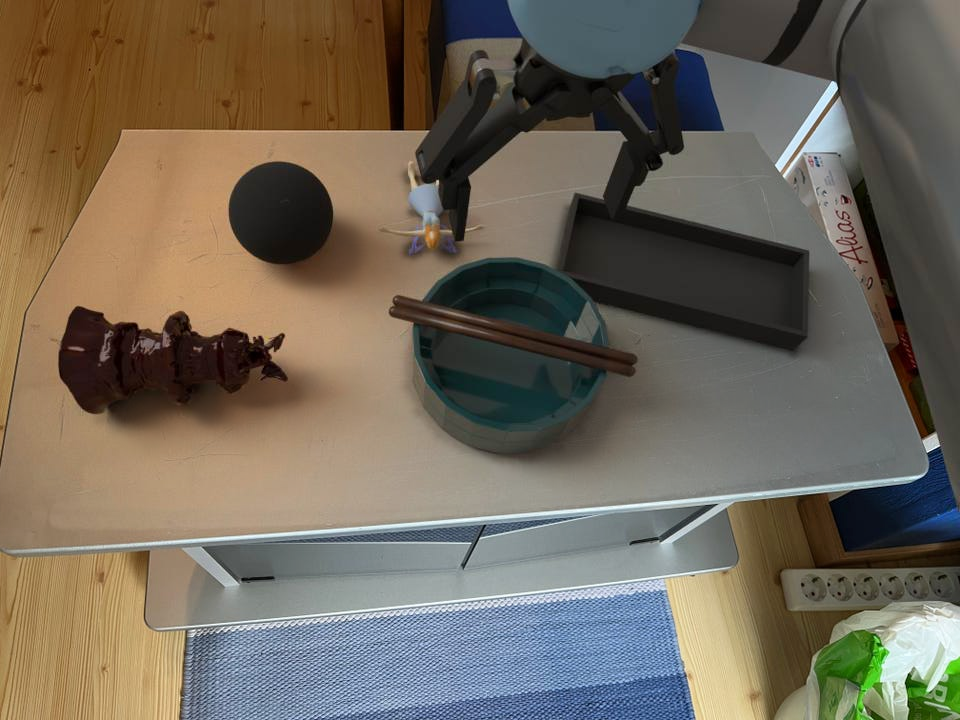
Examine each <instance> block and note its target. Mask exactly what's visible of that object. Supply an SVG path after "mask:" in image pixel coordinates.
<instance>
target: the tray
mask: <svg viewBox="0 0 960 720" xmlns="http://www.w3.org/2000/svg"><path fill="white" fill-rule="evenodd" d="M555 270H556V271H558V272H560V273H562V274H564V275H566V276H567V277H569V278H571V279H572V280H573V281H574V282H575V283H576V284H577V285H579V286H580V287H581V288H582V289H583V290H584V291H585V292H586V293H587V294H588V295H589V296H590V297H591V298H592V300H593V301H594V302H597V303H601V304H604V305H608V306H613V307H616V308H620V309H624V310H629V311H632V312H637V313H640V314H645V315H648V316H652V317H656V318H660V319H664V320H668V321H672V322H676V323H680V324H685V325H687V326H693V327H696V328H700V329H704V330H708V331H711V332H716V333H720V334H724V335H728V336H732V337H736V338H740V339H743V340H749V341H753V342H756V343H760V344H763V345H768V346H772V347H776V348H779V349H784V350H788V351H792V352H794V351H795V350H796V349H797V348H799V346H800V345H802V343H803V342H804V341H805V340H806V339H807V338H808V337H809V297H810V296H809V295H810V294H809V293H810V292H809V291H810V250H808V249H805V248H801V247H796V246H793V245H788V244H786V243H781V242H776V241H773V240H770V239H769V240H768V239H766V238H762V237H761V238H760V237H756V236H752V235H748V234H744V233H740V232H736V231H733V230H728V229H724V228H720V227H716V226H712V225H708V224H704V223H701V222H696V221H691V220H688V219H684V218H680V217H675V216H673V215H672V216H671V215H668V214H664V213H660V212H656V211H651V210H648V209H643V208H641V207H635V206H632V205H628V204H627V207H626V209H625V211H624V214H623V216H622V218H621V220H618V221H612V219H611V216H610V214H609V211H608V209H607V206H606V204H605V201H604V198H599V197H596V196H591V195H587V194H583V193H578V192H574V193H573V197H572V199H571V204H570V206H569V209H568V212H567V217H566V222H565V226H564V231H563V236H562V240H561V244H560V249H559V253H558V258H557V262H556V267H555Z"/></svg>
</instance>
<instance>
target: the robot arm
mask: <svg viewBox="0 0 960 720" xmlns="http://www.w3.org/2000/svg"><path fill="white" fill-rule="evenodd" d="M506 1H507V5H508V8H509V12H510V15H511V17H512V19H513V21H514V23H515V25H516V27H517V29H518V31H519V32H520V35H521V36H522V37H521V45H520V48H519V49H518V51H517V53H516V54H515V55H514V56H513V58H512V59H511V60H510V59H509V60H507V59H506V60H505V59H504V60H502V59H501V60H500V59H496V60H495V59H490V57H489V54H488V52H487V51H486V50H485V49H478V50H475V51H473V52H472V53H471V54H470V56H469V59H468V63H467V67H466V72H465V74H464V75H465V76H464V79H463V80H462V82H461V83H460V85H459V86H458V88H457V89H456V90H455V92H454V94H453V95H452V97H451V98H450V100H449V101H448V103H447V104H446V106H445V107H444V108H443V110H442V111H441V113H440V115H439V116H438V118H437V119H436V121H435V122H434V123H433V125H432V126H431V128H430V129H429V131H428V132H427V134H426V135H425V137H424V138H423V139H422V141H421V143H420V144H419V145H418V147H417V149H415V152H414V155H415V159H416V162H417V167H418V170H419V175H420V179H421V182H422V183H424V184H433V183H436V181H437V180H439V188H438V194H439V198H440V201H441V205H442V208H443V210H442V211H447V219H448V222H449V225H450V229H451V230H452V233H453V235H452V236H453V237H452V238H453V240H454V243H458V242H459V243H460V242H465V236H466V233H465V229H467V223H468V222H467V221H468V213H469V207H470V198H471V192H472V184H471V181H470V176H472V174H474V172H476V171H478V169H479V168H481V167H482V166H483V165H484V164H486V162H488V161H489V160H490V159H491V158H492V157H493V156H494V155H496V154H497V153H498V152H499V151H500V150H502V149H503V148H504V147H505V146H506V145H508V144H509V143H510V142H511V141H512V140H513V139H514V138H516V137H517V136H518V135H519V134H521V133H526V134H527V133H530V132H531V131H532V130H534V129H535V128H536V127H537V126H539V124H541V123H542V122H543V121H544V120H545V121H546V122H553V121H560V120H563V119H566V118H576V119H580V118H581V119H582V118H583V119H585V118H590V117H591V114H592V113H595V112H597V111H599V110H601V112H602V113H603V114H604V116H605V117H606V118H607V120H608V121H609V122H610V123H611V124H614V126H615V127H616V128H617V130H619V132H620V133H621V134H622V136H623V137H624V138H625V139H626V140H624V141H623V140H622V144H621V146H620V149H619V151H618V154H617V157H616V159H615V162H614V165H613V167H612V171H611V173H610V175H609V178H608V181H607V183H606V186H605V189H604V192H603V194H602V199H603V200H604V201H605V204H606V206H607V209H608V211H609V214H610V216H611V219H612V221H618V220H621V218H622V216H623V214H624V211H625V209H626V207H627V205H628V204H629V202H630V200H631V197H632V196H633V195H632V194H633V192H634V190H635V188H636V187H641V186H642V185H644V183H645V181H646V179H647V176H648V175H649V172H655V171H658V170H660V169H661V168H662V167H663V166H664V161H663V158H662V157H661V155H663V154H666V153H668V154H669V155H671V156H676V155H678V154H680V153H682V152H683V150H684V149H685V143H684V137H683V131H682V125H681V119H680V114H679V108H678V101H677V94H676V90H675V83H676V81H677V77H678V74H679V71H680V70H679V69H680V64H681V63H680V61H679V58H678V57H677V55H676V53H675V50H676V49H677V48H678V46H680V45H681V44H683V45H686V46H691V47H694V48H699V49H703V50H706V51H710V52H715V53H719V54H722V55H726V56H730V57H733V58H738V59H743V60H747V61H751V62H754V63H760V64H764V65H767V66H772V67H775V68H779V69H784V70H787V71H791V72H794V73H799V74H803V75H806V76H810V77H814V78H818V79H822V80H827V81H830V82H834V83H835V84H836V87H837V91H838V93H839V94H838V95H839V97H840V100H841V103H842V105H843V107H844V111H845V114H846V117H847V121H848V125H849V129H850V133H851V136H852V139H853V142H854V146H855V150H856V153H857V157H858V160H859V164H860V169H861V171H862V174H863V178H864V182H865V186H866V189H867V192H868V195H869V199H870V203H871V207H872V210H873V213H874V217H875V220H876V221H875V222H876V224H877V227H878V231H879V235H880V239H881V241H882V246H883V248H884V253H885V256H886V260H887V263H888V267H889V271H890V274H891V277H892V281H893V285H894V289H895V293H896V294H897V299H898V302H899V306H900V309H901V313H902V317H903V320H904V323H905V327H906V330H907V335H908V338H909V340H910V345H911V349H912V352H913V355H914V359H915V363H916V366H917V369H918V373H919V377H920V380H921V384H922V387H923V391H924V395H925V398H926V402H927V405H928V409H929V411H930V416H931V419H932V423H933V426H934V430H935V433H936V436H937V440H938V441H937V442H938V444H939V448H940V451H941V454H942V458H943V461H944V466H945V469H946V472H947V476H948V479H949V483H950V487H951V490H952V493H953V498H954V500H955V505H956V508H957V511H958V514H959V516H960V0H506ZM639 73H641V74H642V77H643V79H644V80H645V81H647V83H648V88H649V94H650V97H651V103H652V106H653V107H652V108H653V111H654V116H655V121H656V126H657V129H655V130H652V131H650V130H649V129H648V127H647V126H646V125H645V123H644V122H643V120H642V119H641V117H640V116H639V115H638V114H637V112H636V111H635V110H634V108H633V107H632V106H631V104H630V103H629V102H628V100H627V99H626V98H625V96H624V95H623V93H622V91H621V90H623V88H625V87H626V86H627V85H628V84H629V83H630V82H632V81H633V80H634V79H635V77H636V76H637V75H638V74H639ZM503 88H504V89H503ZM501 92H502V94H501ZM501 95H502V96H501ZM524 100H525V101H526V102H527V104H528V105H529V107H528V108H526V105H525V102H524ZM493 101H497V102H496V103H495V104H494V105H492V102H493ZM491 105H492V106H491Z"/></svg>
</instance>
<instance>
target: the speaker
mask: <svg viewBox="0 0 960 720" xmlns="http://www.w3.org/2000/svg"><path fill="white" fill-rule="evenodd" d="M227 211H228V220H229V224H230V228H231V230H232V232H233V235H234V236H235V238H236V240H237V241H238V243H239V244H240V246H241V247H243V249H244V250H246V252H248V253H249V254H250V255H252V256H253V257H254V258H256V259H258V260H260V261H262V262H266V263H268V264H273V265H280V266H285V265H287V266H288V265H294V264H299V263H302V262H304V261H306V260H308V259H310V258H312V257H313V256H314V255H316V254H317V253H318V252H319V251H320V250H321V249H322V248H323V247H324V245H325V244H326V243H327V241H328V240H329V237H330V235H331V232H332V230H333V224H334V207H333V202H332V199H331V195H330V193H329V191H328V190H327V187H326V186H325V185H324V183H323V182H322V181H321V180H320V179H319V178H318V177H317V176H316V174H314V173H313V172H312V171H310V170H308V169H307V168H305V167H304V166H302V165H299V164H297V163H293V162H289V161H282V160H278V161H277V160H276V161H275V160H274V161H269V162H264V163H260V164H257V165H255V166H254V167H251V168H250V169H249V170H248V171H246V172H245V173H244V174H243V175H242V176H241V177H240V178H239V179H238V180H237V182H236V184H234V187H233V189H232V191H231V194H230V196H229V201H228V209H227Z"/></svg>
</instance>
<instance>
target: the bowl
mask: <svg viewBox="0 0 960 720" xmlns="http://www.w3.org/2000/svg"><path fill="white" fill-rule="evenodd" d="M421 301H425V302H429V303H433V304H437V305H441V306H445V307H449V308H453V309H456V310H460V311H464V312H468V313H472V314H476V315H480V316H484V317H488V318H492V319H496V320H500V321H504V322H508V323H512V324H516V325H520V326H524V327H528V328H532V329H536V330H540V331H544V332H548V333H552V334H556V335H560V336H564V337H568V338H572V339H576V340H580V341H584V342H588V343H592V344H596V345H600V346H604V347H608V348H611V344H610V340H609V334H608V328H607V324H606V321H605V319H604V318H603V316H602V314H601V312H600V311H599V308H598V307H597V305H596V303H595V301H593V300H592V298H591V297H590V296H589V295H588V294H587V293H586V292H585V291H584V290H583V289H582V288H581V287H580V286H579V285H577V284H576V283H575V282H574V281H573V280H572V279H571V278H569V277H567V276H566V275H564V274H562V273H560V272H558V271H556V268H553V267H551V266H549V265H547V264H545V263H542V262H541V263H540V262H537V261H533V260H529V259H525V258H521V257H517V256H513V257H485V258H482V259H479V260H474V261H472V262H469V263H465V264H461V265H459V266H457V267H456V268H455V269H453V270H452V271H450V272H449V273H446V275H444V276H442V277H440V278H439V279H438V280H437V281H436V282H435V283H434V284H433V285H432V287H431V288H430V290H428V292H427V293H426V295H424V297H423V298H422V299H421ZM411 329H412V331H411V351H410V358H411V377H412V378H411V379H412V384H413V386H414V388H415V391H416V394H417V396H418V399H419V400H420V403H421V405H422V407H423V409H424V410H425V411H426V413H427V414H428V415H429V416H430V417H431V418H432V419H433V420H434V421H435V423H437V425H438V426H439V428H440V429H442V430H443V431H444V432H446V433H448V434H449V435H451V436H453V437H454V438H456V439H458V440H459V441H460V442H463V443H464V444H466V445H467V446H470V447H473V448H476V449H480V450H485V451H489V452H492V453H493V452H494V453H497V454H511V453H530V452H533V451H536V450H539V449H542V448H544V447H547V446H549V445H552V444H555V443H558V442H559V441H560V440H561V439H563V438H564V437H565V436H566V435H568V433H570V432H571V431H572V430H574V429H575V428H576V427H577V426H579V424H580V423H581V422H582V420H583V418H584V417H585V415H586V413H587V411H588V410H589V408H590V406H591V404H592V403H593V401H594V399H595V397H596V396H597V394H598V392H599V390H600V389H601V388H602V387H601V386H602V385H603V384H604V382H605V380H606V378H607V374H608V372H607V371H603V370H599V369H595V368H591V367H587V366H583V365H579V364H575V363H571V362H567V361H563V360H559V359H555V358H551V357H547V356H543V355H539V354H535V353H531V352H528V351H524V350H520V349H516V348H512V347H508V346H504V345H500V344H496V343H492V342H488V341H484V340H480V339H476V338H472V337H468V336H464V335H460V334H456V333H452V332H448V331H444V330H440V329H436V328H432V327H428V326H424V325H420V324H417V323H413V325H412V327H411Z"/></svg>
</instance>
